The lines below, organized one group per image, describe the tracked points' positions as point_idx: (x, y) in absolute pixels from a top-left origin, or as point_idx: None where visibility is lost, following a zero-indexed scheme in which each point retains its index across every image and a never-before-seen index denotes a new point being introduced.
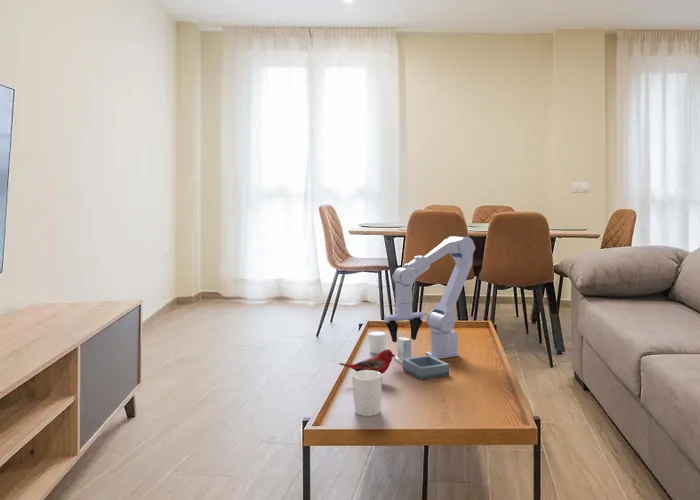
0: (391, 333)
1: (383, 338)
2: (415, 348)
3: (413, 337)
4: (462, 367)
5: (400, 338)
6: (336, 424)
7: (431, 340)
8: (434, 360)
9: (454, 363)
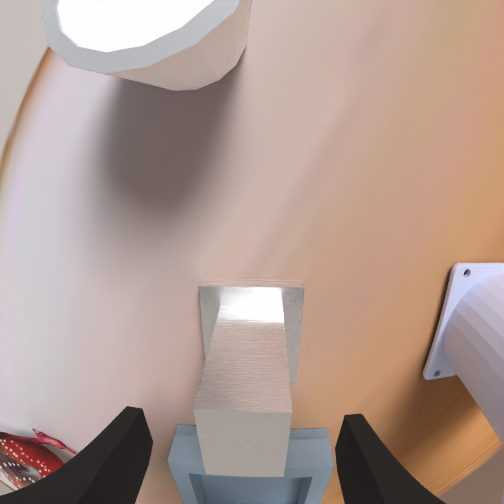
0: (92, 460)
1: (173, 68)
2: (471, 117)
3: (339, 458)
4: (406, 462)
5: (212, 431)
6: (13, 486)
7: (491, 376)
8: (305, 495)
9: (426, 429)
